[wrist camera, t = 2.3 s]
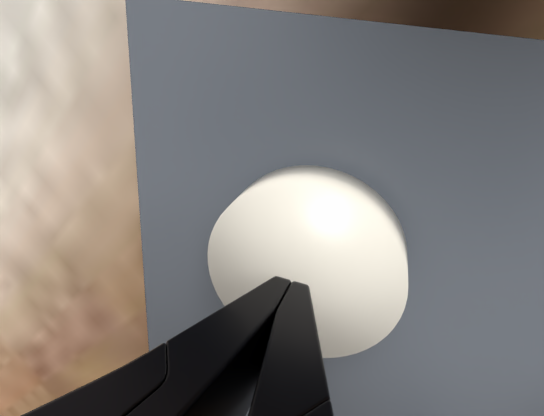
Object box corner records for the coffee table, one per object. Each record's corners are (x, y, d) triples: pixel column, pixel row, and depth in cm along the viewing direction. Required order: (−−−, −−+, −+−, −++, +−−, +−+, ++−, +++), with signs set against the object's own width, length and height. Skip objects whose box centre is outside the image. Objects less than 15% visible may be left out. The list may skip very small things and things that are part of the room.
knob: (426, 155, 11) (437, 213, 8) (385, 288, 14) (379, 382, 10) (266, 126, 12) (210, 163, 9) (253, 253, 15) (205, 324, 11)
